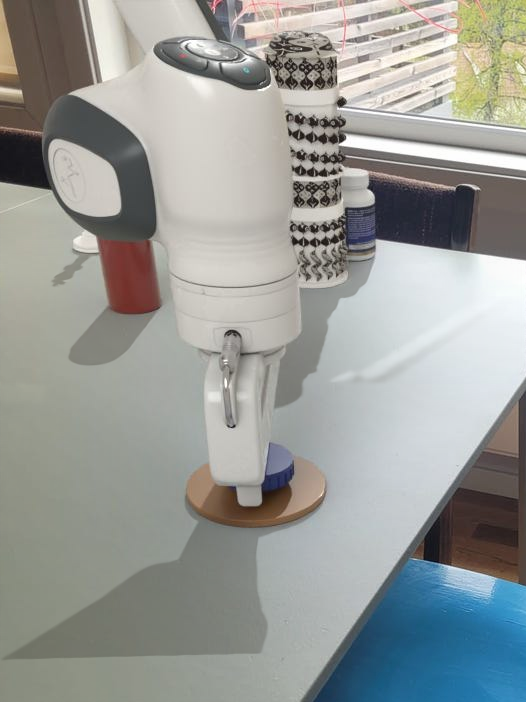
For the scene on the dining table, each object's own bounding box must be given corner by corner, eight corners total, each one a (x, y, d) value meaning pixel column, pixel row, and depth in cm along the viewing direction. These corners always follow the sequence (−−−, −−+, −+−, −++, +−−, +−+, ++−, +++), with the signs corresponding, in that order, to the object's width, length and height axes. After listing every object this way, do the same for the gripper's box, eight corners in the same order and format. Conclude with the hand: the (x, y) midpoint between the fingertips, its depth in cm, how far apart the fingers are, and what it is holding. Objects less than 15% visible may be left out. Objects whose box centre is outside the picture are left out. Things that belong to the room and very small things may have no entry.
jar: (104, 313, 107) (85, 214, 100) (113, 294, 111) (96, 198, 105) (157, 314, 107) (142, 215, 101) (165, 295, 112) (151, 200, 105)
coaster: (178, 528, 75) (177, 521, 75) (195, 457, 84) (194, 451, 83) (324, 526, 77) (324, 520, 76) (327, 457, 85) (327, 450, 85)
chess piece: (92, 255, 120) (75, 167, 114) (64, 247, 122) (46, 159, 116) (123, 246, 124) (109, 159, 117) (95, 237, 125) (80, 151, 119)
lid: (301, 460, 82) (301, 445, 81) (284, 496, 77) (283, 480, 76) (228, 452, 82) (226, 436, 81) (206, 487, 77) (204, 471, 76)
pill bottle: (383, 252, 127) (383, 170, 121) (362, 264, 123) (360, 180, 117) (347, 245, 128) (344, 163, 122) (324, 256, 125) (321, 173, 118)
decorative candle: (304, 257, 124) (290, 24, 108) (366, 273, 121) (361, 35, 105) (257, 278, 117) (236, 33, 102) (322, 295, 114) (310, 44, 98)
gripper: (274, 368, 63) (288, 549, 72) (289, 260, 79) (299, 419, 87) (171, 367, 62) (199, 550, 71) (208, 258, 78) (226, 419, 87)
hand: (254, 477), depth 79 cm, fingers closed on lid, 6 cm apart
